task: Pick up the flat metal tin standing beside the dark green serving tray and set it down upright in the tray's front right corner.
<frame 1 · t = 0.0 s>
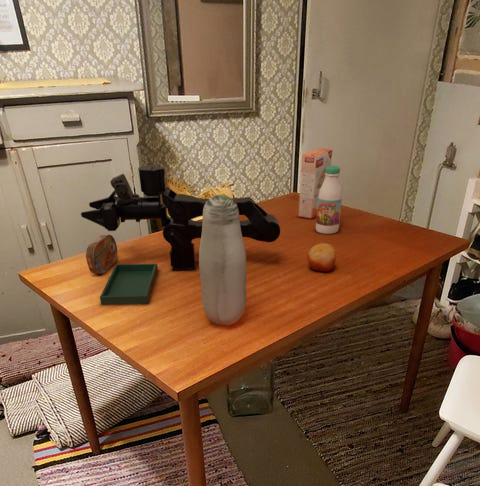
hand: (85, 209, 132), 17 cm above the table, tool horizontal, fingers open, 9 cm apart
tray: (131, 286, 131), on the table
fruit: (320, 269, 139), on the table
cracker box: (312, 213, 182), on the table
milk bottle: (326, 231, 166), on the table
glass bottle: (224, 321, 115), on the table
tin: (104, 268, 142), on the table
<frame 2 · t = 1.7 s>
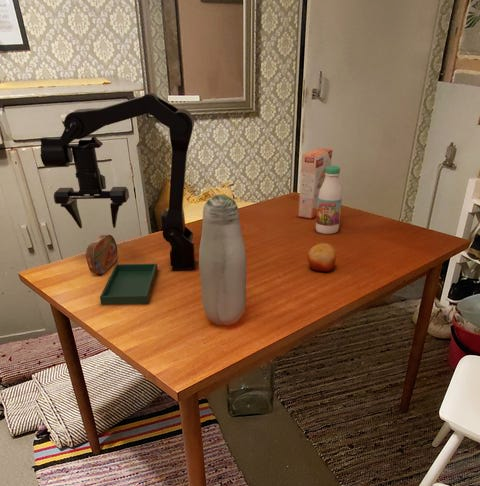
hand: (97, 227, 135), 12 cm above the table, tool pointing down, fingers open, 9 cm apart
nothing on the table moved.
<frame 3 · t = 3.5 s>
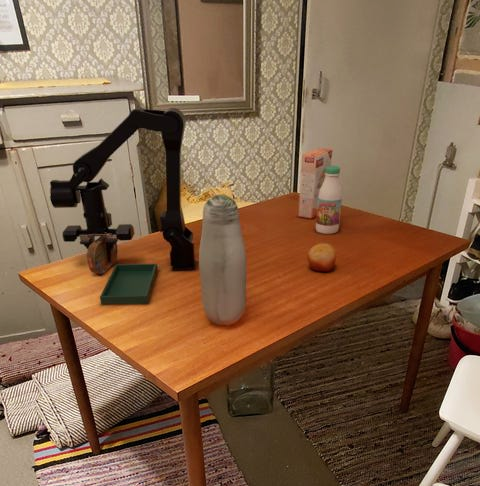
hand: (104, 262, 141), 2 cm above the table, tool pointing down, fingers closed on tin, 3 cm apart
tin: (104, 268, 142), on the table, touching gripper
everything else where it was.
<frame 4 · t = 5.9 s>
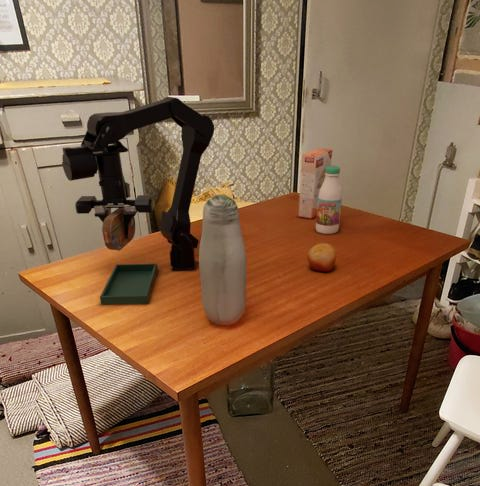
hand: (121, 238, 127), 12 cm above the table, tool pointing down, fingers closed on tin, 3 cm apart
tin: (121, 245, 128), point 10 cm above the table, touching gripper
everything else where it was.
when the fingers open (2 cm above the table, at t = 8.4 s): tin stays where it is, resting on tray.
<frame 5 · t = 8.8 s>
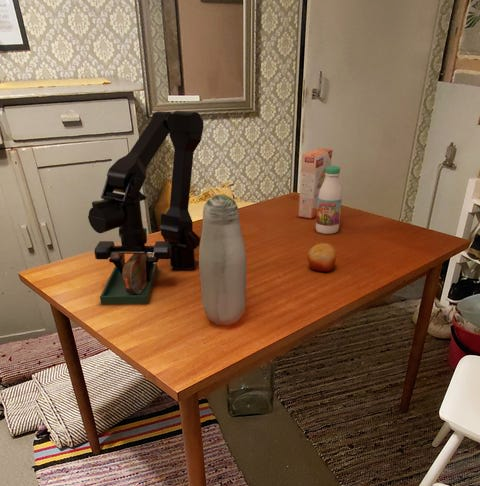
hand: (138, 281, 129), 2 cm above the table, tool pointing down, fingers open, 5 cm apart
tin: (139, 288, 130), resting on tray
everything else where it was.
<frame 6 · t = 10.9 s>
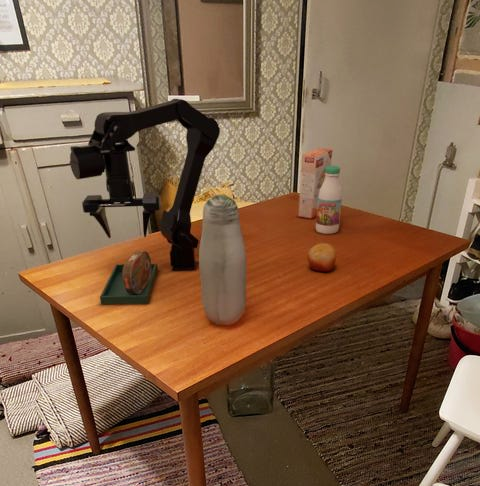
hand: (127, 237, 128), 12 cm above the table, tool pointing down, fingers open, 9 cm apart
nothing on the table moved.
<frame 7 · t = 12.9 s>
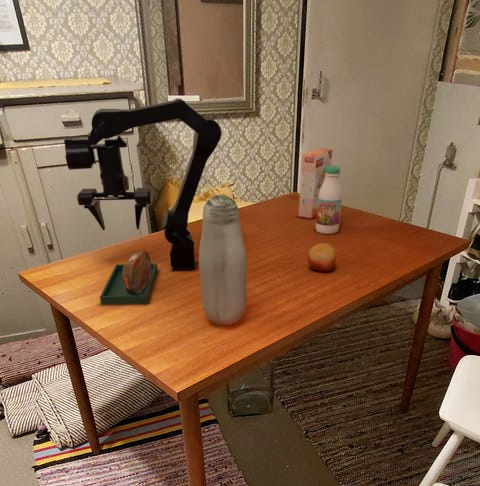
hand: (121, 229, 133), 12 cm above the table, tool pointing down, fingers open, 9 cm apart
nothing on the table moved.
at the end: tin 0.4 cm from the target spot in the tray, point 0.2 cm above the tray's base; tin tilted 0° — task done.
